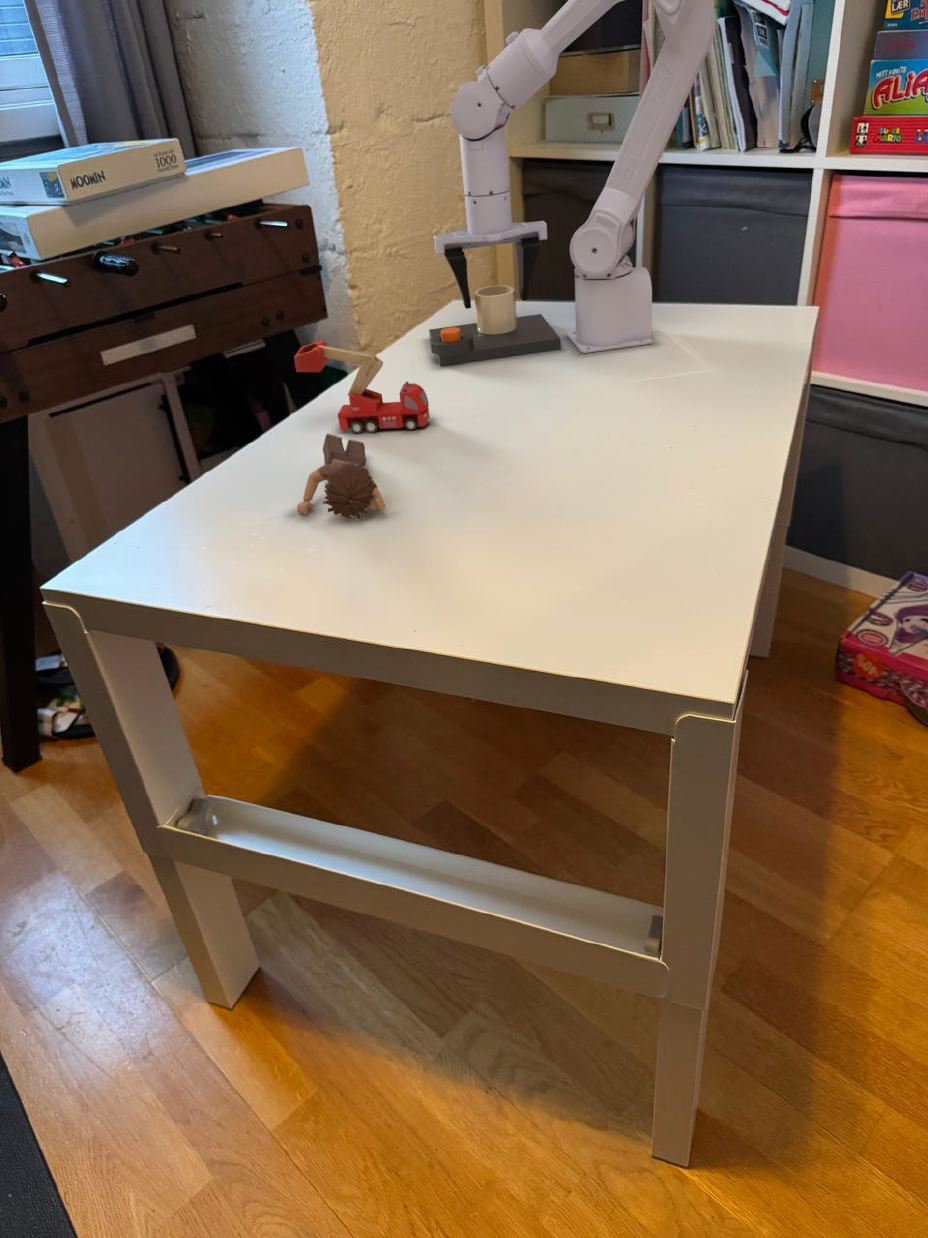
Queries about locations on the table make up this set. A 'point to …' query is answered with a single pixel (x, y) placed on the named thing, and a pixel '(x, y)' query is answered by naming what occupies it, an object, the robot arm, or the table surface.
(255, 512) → the table surface
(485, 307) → the small cup
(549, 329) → the scale
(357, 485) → the figurine
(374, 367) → the toy fire truck
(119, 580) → the table surface
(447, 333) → the button
